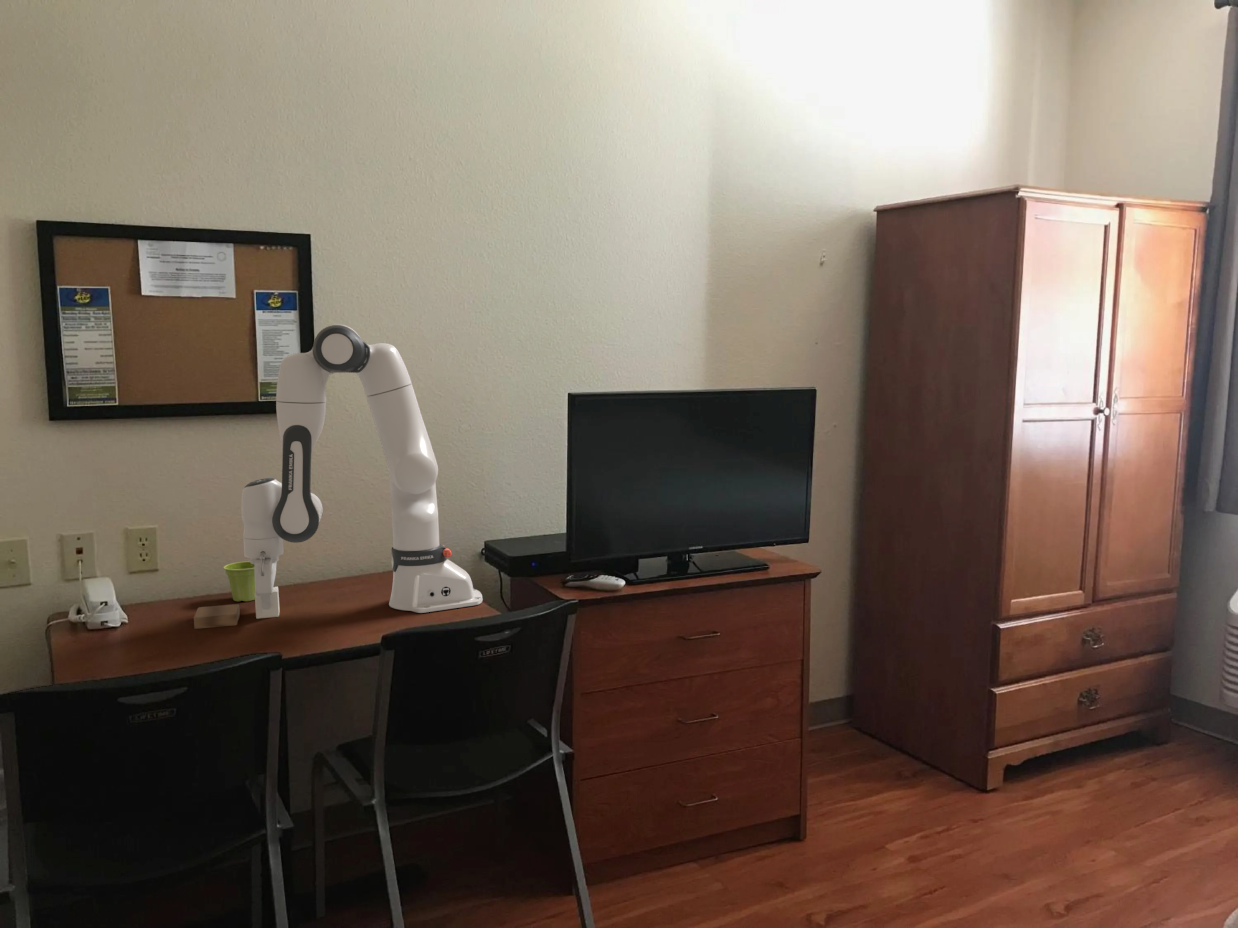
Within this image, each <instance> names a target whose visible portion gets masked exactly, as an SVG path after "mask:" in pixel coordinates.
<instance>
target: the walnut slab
mask: <svg viewBox="0 0 1238 928" xmlns="http://www.w3.org/2000/svg"><path fill="white" fill-rule="evenodd" d="M239 619H240V604H239V603H235V604H234V603H233V604H223V605H212V606H210V605H209V606H201V607H200V606H199V607H198V608H197V610H196V612H195V613H194V616H193V629H194V630H197V629H207V628H219V627H229V626H237V625H238V623H239Z"/></svg>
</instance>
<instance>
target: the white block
mask: <svg viewBox="0 0 1238 928" xmlns="http://www.w3.org/2000/svg"><path fill="white" fill-rule="evenodd" d="M279 596H280V595H279V586H273V592H272V594H271V595H270V601H271V608H270V609H265V610H264V609H263V608H262V600H261V596H257V595H256V592H255V600H254V601H255V604H254V605H255V617H256V619H267V618H276V617H277V618H278V617H280V597H279Z"/></svg>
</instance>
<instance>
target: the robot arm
mask: <svg viewBox="0 0 1238 928" xmlns="http://www.w3.org/2000/svg"><path fill="white" fill-rule="evenodd" d="M336 373H338V374H341V373H344V374H345V373H352V374H356V375H357V376H358V378H359V380H360V381H361V385H362V387H363V390H364V394H365V396H366V400H367V402H368V403H367V404H368V407H369V409H370V412H371V416H372V419H373V422H374V425H375V429H376V433H377V436H378V439H379V441H380V445H381V448H382V452H383V455H384V458H385V461H386V464H387V468H388V475H389V491H390V493H389V494H390V495H389V496H390V507H391V508H390V510H391V529H392V547H391V552H390V555H391V556H390V559H391V569H392V574H393V576H392V577H393V578H392V587H391V588H392V589H391V594H390V598H389V603H388V605H389V607H390V608H392V609H395V610H399V611H409V612H413V613H418V614H423V613H429V612H430V613H432V612H437V611H445V610H452V609H457V608H466V607H472V606H478V605H480V604H482V603H483V600H484V599H483V594H482V592H481V591H480V590H478V589H475V588H474V586H473V585H474V584H473V581H472V579H471V575H470V574H469V573H468V572H467V571H466V570H465V569H463V568H462V567H460V566H459V565H457V564H456V563H455V562H453V561H451V560H450V559H449V558H451V557H452V554H453V553H452V551H451V549H449V548H448V547H447V546H446V545H444V544H441V543H440V529H439V528H440V526H439V524H440V523H439V506H438V498H437V497H438V496H437V485H436V484H437V483H436V481H437V479H438V476H439V467H438V462H437V459H436V454H435V453H434V450H433V447H432V442H431V439H430V437H429V434H428V431H427V428H426V424H425V422H424V419H423V416H422V412H421V410H420V409H421V408H420V406H419V403H418V400H417V395H416V393H415V390H414V387H413V383H412V379H411V376H410V374H409V371H408V369H407V366H406V364H405V362H404V359H403V358H402V355H401V354H400V352H399V350H398V349H397V348H396V346H394V345H393V344H391V343H385V342H379V343H374V344H368V343H367V342H365V341H364V340H363V338H362V337H361V336H360V335H359V334H358V333H357V331H356V330H354V329H353V328H352V327H350V326H348V325H345V324H340V323H339V324H338V323H335V324H330V325H327V326H325V327H324V328H321V330H320V331H319V332H318V333H317V334H316V336H315V338H314V341H313V345H312V348H311V349H310V350H309V351H308V352H297V353H293V354H290V355H287V356H286V357H284V358H283V359H282V360H281V362H280V365H279V370H278V376H277V382H276V394H275V395H276V397H275V401H276V402H275V403H276V404H275V406H276V407H275V409H276V422H277V425H278V426H277V427H278V433H279V439H280V445H281V446H280V447H281V454H282V456H281V457H282V463H281V465H282V467H281V481H278V479H276V478H274V477H265V478H260V479H256V480H253V481H251V482H249V483H247V484H246V485H245V486H244V487H243V488H242V491H241V499H240V501H241V502H240V508H241V509H240V511H241V521H242V524H243V533H242V540H243V542H242V543H243V556H244V558H247V559H249V561H250V563H251V564H255V566H254V575H255V592H256V595H257V596H261V600H262V608H263V609H264V610H265V609H270V608H271V601H270V595H271V594H272V592H273V587H275V580H276V574H277V564H278V563H277V562H279V561H280V559H279V557H280V556H282V555H284V553H285V549H284V541H286V542H289V543H296V544H298V543H303V542H305V541H308V540H310V539H311V538H312V537H313V536H315V534H316V533H317V530H318V528H319V524H320V521H321V519H322V516H323V512H324V507H323V503H322V500H321V499H320V497H319V496H317V495H316V494H315V493H313V492H312V462H313V461H312V460H313V455H314V450H315V447H316V445H317V443H318V440H319V438H320V436H321V434H322V432H323V429H324V424H325V420H326V410H327V409H326V408H327V384H328V381H329V379H330V377H331V376H332V375H333V374H336Z"/></svg>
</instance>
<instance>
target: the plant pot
mask: <svg viewBox="0 0 1238 928" xmlns="http://www.w3.org/2000/svg"><path fill="white" fill-rule="evenodd" d="M254 566H255V564H251V563H250V560H248V561H240V562H239V561H238V562H231V563H229V564H226V565H224V566H223V570H225V574H226V575H227V578H228V583H229V587H230V590H231V595H232V600H233V601H235V602H238V603H239V602H241V601H243V602H250V601H255V575H254Z"/></svg>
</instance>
